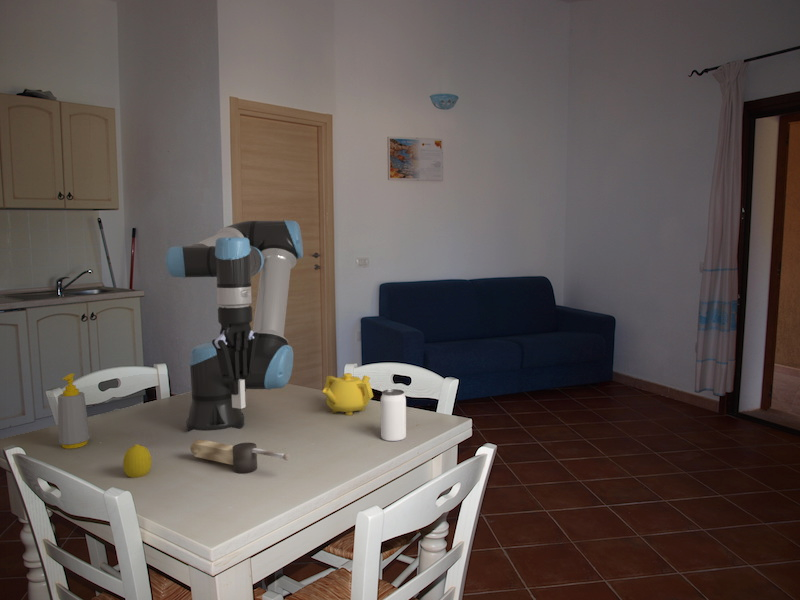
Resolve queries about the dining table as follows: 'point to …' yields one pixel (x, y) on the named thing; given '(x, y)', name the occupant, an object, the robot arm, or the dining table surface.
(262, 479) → the dining table surface
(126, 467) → the lemon
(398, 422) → the can
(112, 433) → the dining table surface
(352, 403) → the teapot
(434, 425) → the dining table surface
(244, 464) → the tan long two-tone device
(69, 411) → the soap bottle
